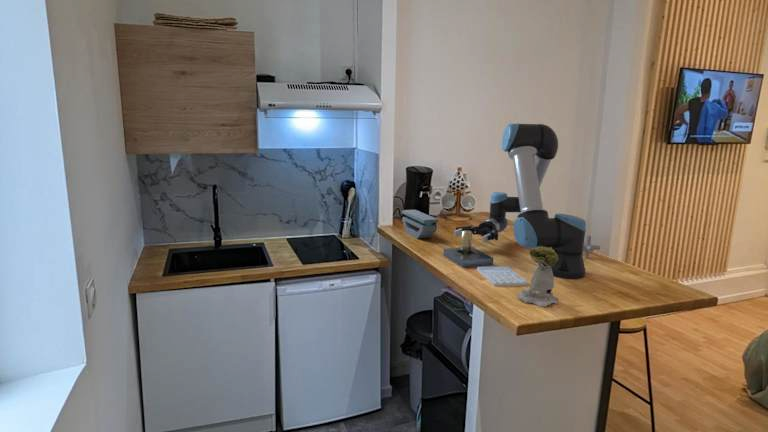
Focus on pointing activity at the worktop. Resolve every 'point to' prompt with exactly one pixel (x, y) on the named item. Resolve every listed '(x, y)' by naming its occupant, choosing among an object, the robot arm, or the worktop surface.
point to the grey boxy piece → (419, 224)
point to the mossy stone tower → (541, 278)
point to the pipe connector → (589, 247)
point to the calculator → (502, 276)
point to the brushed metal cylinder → (466, 242)
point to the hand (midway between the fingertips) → (468, 236)
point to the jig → (468, 257)
